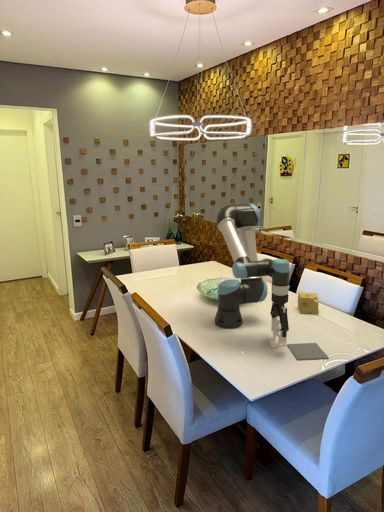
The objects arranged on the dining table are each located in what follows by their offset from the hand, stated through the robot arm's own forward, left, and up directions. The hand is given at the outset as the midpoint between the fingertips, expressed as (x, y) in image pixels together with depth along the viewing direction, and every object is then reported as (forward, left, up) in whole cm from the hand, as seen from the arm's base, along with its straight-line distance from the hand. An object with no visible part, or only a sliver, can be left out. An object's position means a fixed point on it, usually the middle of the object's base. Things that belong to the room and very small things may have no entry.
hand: (278, 336), depth 165 cm
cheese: (+30, +40, -5) cm, 50 cm away
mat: (+11, -8, -4) cm, 14 cm away
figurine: (0, 0, -4) cm, 4 cm away
